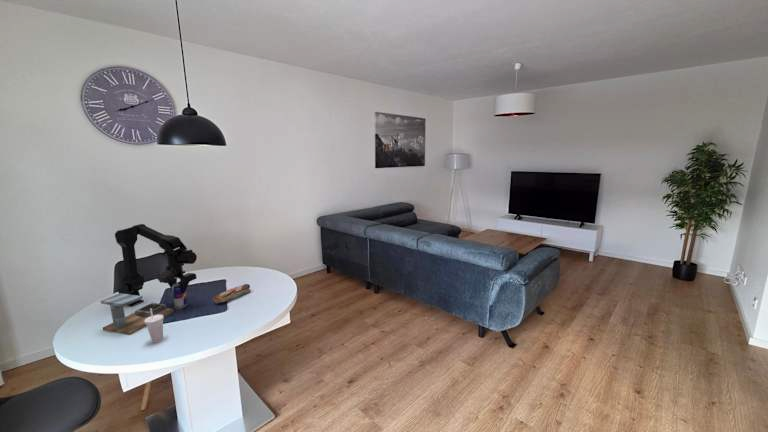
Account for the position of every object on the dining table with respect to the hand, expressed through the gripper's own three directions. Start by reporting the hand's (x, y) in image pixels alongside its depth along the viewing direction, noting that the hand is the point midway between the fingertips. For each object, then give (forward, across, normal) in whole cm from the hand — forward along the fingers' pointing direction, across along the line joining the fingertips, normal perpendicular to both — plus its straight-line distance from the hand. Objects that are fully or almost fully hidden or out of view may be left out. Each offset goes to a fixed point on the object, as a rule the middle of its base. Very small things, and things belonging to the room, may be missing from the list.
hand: (179, 292), depth 158 cm
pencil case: (+8, +18, +15) cm, 25 cm away
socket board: (+8, -7, -16) cm, 19 cm away
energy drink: (+8, 0, 0) cm, 8 cm away
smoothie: (+8, +16, -26) cm, 31 cm away
